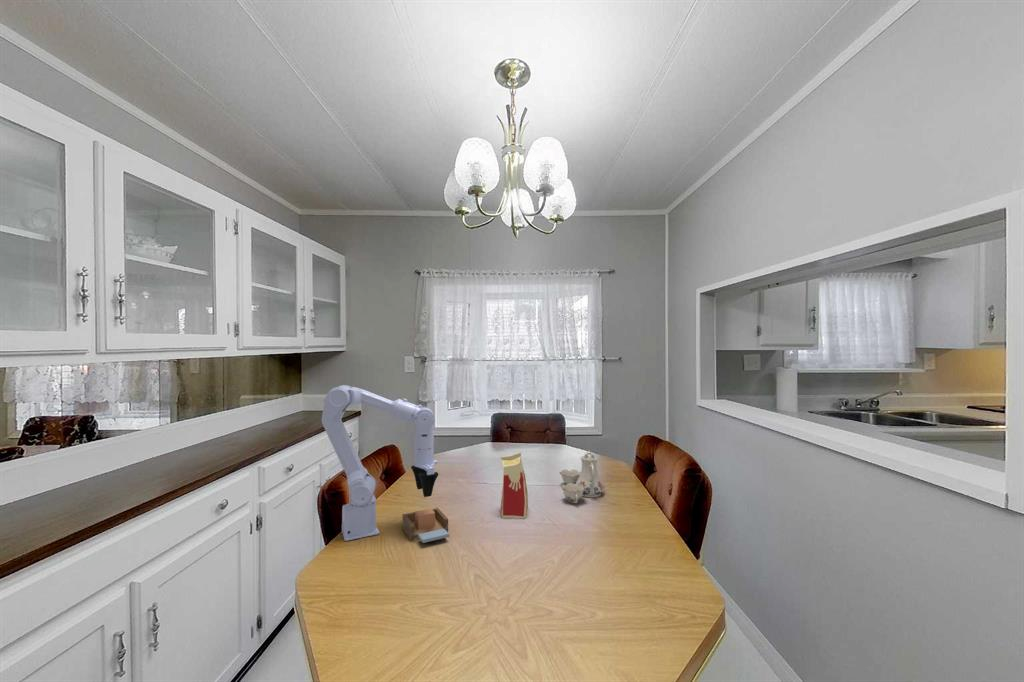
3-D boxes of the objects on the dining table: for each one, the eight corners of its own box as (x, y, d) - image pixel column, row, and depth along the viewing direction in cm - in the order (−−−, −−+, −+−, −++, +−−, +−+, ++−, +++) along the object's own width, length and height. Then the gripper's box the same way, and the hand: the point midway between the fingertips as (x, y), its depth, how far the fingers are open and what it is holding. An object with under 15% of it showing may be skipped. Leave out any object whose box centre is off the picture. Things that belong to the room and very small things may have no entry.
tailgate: (418, 538, 114) (422, 544, 110) (418, 534, 114) (422, 539, 110) (443, 532, 118) (449, 537, 114) (443, 528, 118) (449, 533, 114)
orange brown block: (418, 530, 118) (418, 516, 118) (414, 525, 121) (414, 511, 121) (434, 526, 120) (435, 512, 120) (431, 521, 124) (431, 508, 124)
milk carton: (528, 508, 138) (527, 449, 139) (526, 519, 129) (526, 456, 130) (501, 507, 139) (501, 448, 140) (498, 518, 130) (498, 455, 130)
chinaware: (556, 485, 166) (552, 445, 167) (596, 481, 166) (592, 441, 167) (565, 512, 138) (560, 464, 139) (613, 507, 138) (608, 458, 139)
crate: (412, 542, 113) (412, 528, 113) (402, 527, 123) (402, 514, 123) (449, 534, 118) (449, 520, 119) (437, 520, 128) (437, 507, 128)
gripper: (444, 451, 120) (444, 497, 119) (430, 441, 133) (430, 483, 132) (420, 454, 116) (420, 501, 116) (408, 444, 129) (408, 486, 129)
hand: (424, 492), depth 124 cm, fingers open, 7 cm apart
